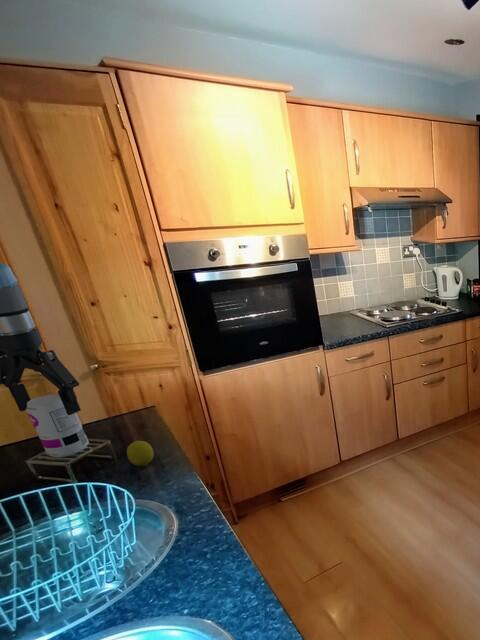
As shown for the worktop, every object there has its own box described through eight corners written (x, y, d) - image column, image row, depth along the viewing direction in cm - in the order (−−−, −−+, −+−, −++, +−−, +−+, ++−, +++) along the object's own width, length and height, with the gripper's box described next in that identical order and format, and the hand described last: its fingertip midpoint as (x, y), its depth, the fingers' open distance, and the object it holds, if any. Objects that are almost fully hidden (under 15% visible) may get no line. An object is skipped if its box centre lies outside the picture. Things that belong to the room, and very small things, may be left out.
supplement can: (47, 462, 115) (21, 409, 108) (49, 448, 120) (25, 398, 114) (89, 451, 119) (66, 400, 113) (90, 438, 125) (68, 389, 119)
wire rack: (36, 483, 118) (24, 461, 115) (81, 458, 129) (72, 437, 126) (77, 487, 117) (66, 464, 114) (119, 461, 127) (110, 440, 125)
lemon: (156, 457, 129) (147, 433, 126) (158, 466, 125) (148, 441, 122) (132, 464, 126) (122, 440, 123) (133, 473, 122) (123, 448, 119)
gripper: (77, 329, 109) (108, 407, 117) (-13, 323, 111) (23, 401, 120) (44, 338, 102) (79, 421, 110) (-51, 333, 104) (-10, 414, 113)
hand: (50, 410), depth 115 cm, fingers open, 13 cm apart
